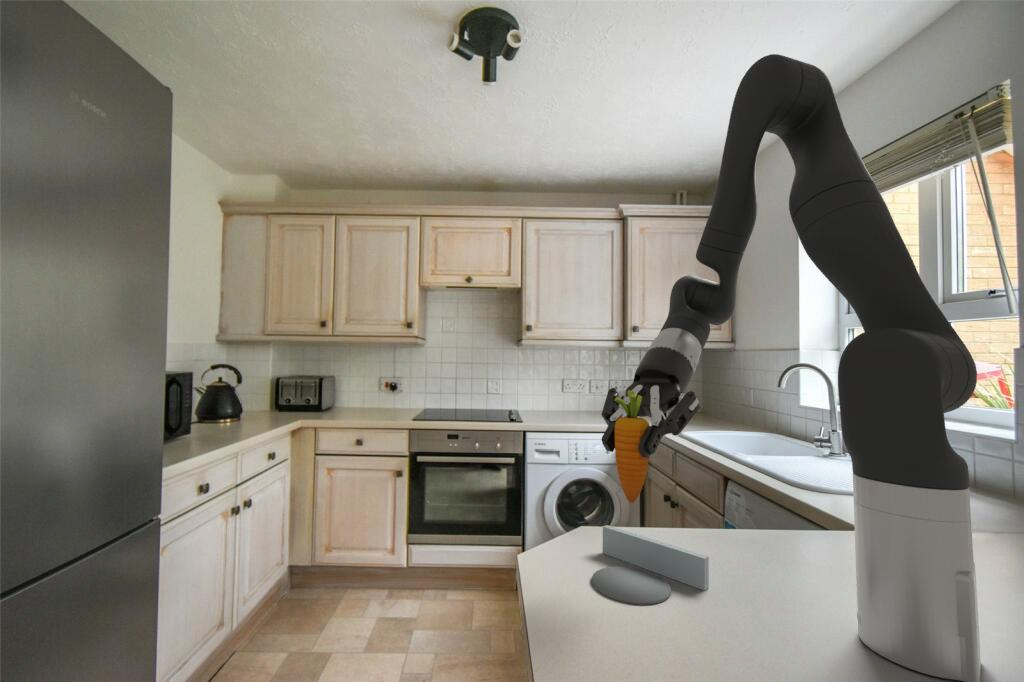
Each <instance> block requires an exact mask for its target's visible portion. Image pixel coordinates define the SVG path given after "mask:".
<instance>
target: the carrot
mask: <svg viewBox="0 0 1024 682" xmlns="http://www.w3.org/2000/svg"><path fill="white" fill-rule="evenodd" d="M627 393H628V397H629V400H630V404H628V403H627V404H626V403H625V402H624V401H623V400H622V399H620V398H618V397H617V398H615V401H616V402H617V403H619V404H620V405H621V406H622V407H623V408H624V410H625V412H626V414H627V417H624V416H623V417H621V418H619V419H618V420H617V421H616V423H615V449H614V452H615V454H614V455H615V462H616V469H617V474H618V479H619V483H620V485H621V488H622V491H623V493H624V495H625V497H626V500H627V501H628V502H629V504H634V502H636V501H637V500H638V498H639V496H640V494H641V492H642V489H643V486H644V484H645V481H646V478H647V477H646V476H647V472H648V467H649V459H650V457H649V458H645V457H642V455H641V454H640V452H639V450H638V445H639V443H640V441H641V439H642V437H643V435H644V433H645V431H646V429H647V427H648V426H650V423H649V422H648V421H647V420H646V419H645V418H643V417H640V418H639V417H637V413H638V411H639V408H640V405H641V402H642V397H641V396H640V395H638V397H637V401H636V396H635V395H634V392H633V391H632V390H629V391H627Z"/></svg>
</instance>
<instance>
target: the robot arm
mask: <svg viewBox="0 0 1024 682" xmlns="http://www.w3.org/2000/svg"><path fill="white" fill-rule="evenodd" d="M766 133H769V134H774V135H776V136H778V138H780V140H781V141H782V142H783V144H785V147H786V149H787V150H788V152H789V155H790V157H791V159H792V162H793V165H794V169H795V170H794V171H795V172H794V177H793V181H792V183H791V187H790V191H789V197H788V198H789V199H788V210H789V215H790V218H791V221H792V223H793V226H794V228H795V230H796V234H797V236H798V238H799V240H800V244H801V245H802V247H803V249H804V251H805V253H806V255H807V256H808V258H809V259H810V260H811V262H812V263H813V264H814V265H815V267H816V268H817V269H818V270H819V271H820V272H821V273H822V275H823V276H824V277H825V278H826V279H827V280H828V281H829V282H830V284H832V285H833V286H834V288H835V289H836V290H837V291H838V292H839V293H840V294H841V295H842V297H844V299H845V300H847V302H848V304H849V305H850V306H851V308H852V309H853V311H854V313H855V314H856V316H857V318H858V320H859V323H860V324H861V325H860V326H861V327H862V329H863V331H864V332H862V333H860V334H858V335H857V336H855V337H854V338H853V339H851V341H850V342H848V343H847V344H846V346H845V348H844V350H843V351H842V353H841V356H840V359H839V364H838V368H837V369H838V370H837V391H838V402H839V403H838V404H839V414H840V426H841V434H842V440H843V444H844V447H845V448H846V451H847V453H848V454H849V456H850V459H851V466H852V468H851V469H852V487H853V488H852V491H853V492H852V493H853V494H852V495H853V518H854V519H853V521H854V550H855V551H854V552H855V555H854V556H855V580H856V584H855V586H856V602H857V603H856V604H857V605H856V608H857V609H856V619H857V631H858V632H857V634H858V637H859V639H860V640H861V642H863V644H865V646H867V647H868V648H869V649H870V650H872V652H875V653H877V654H878V655H879V656H881V657H883V658H885V659H887V660H889V661H891V662H893V663H896V664H898V665H899V666H901V667H904V668H907V669H910V670H912V671H916V672H919V673H922V674H925V675H929V676H932V677H937V678H941V679H945V680H946V679H947V680H954V681H955V680H956V681H961V682H981V665H982V663H981V662H982V660H981V659H982V658H981V657H982V656H981V641H980V625H979V610H978V609H979V608H978V607H979V606H978V590H977V589H978V588H977V572H976V571H977V570H976V563H975V559H974V545H973V544H974V543H973V529H972V528H973V527H972V525H973V524H972V513H971V497H970V496H971V494H970V492H971V491H970V477H969V476H970V472H969V465H968V462H967V461H966V460H965V459H964V458H963V456H961V454H958V453H957V452H956V451H955V449H953V447H952V446H951V443H950V441H949V439H948V436H947V429H946V423H945V414H946V413H949V412H953V411H955V410H957V409H959V408H961V407H962V406H964V405H965V404H966V403H967V402H968V401H969V400H970V399H971V398H972V396H973V394H974V392H975V389H976V386H977V382H978V370H977V366H976V362H975V360H974V358H973V355H972V354H971V352H970V351H969V349H968V347H967V346H966V344H965V343H964V341H963V340H962V339H961V337H960V336H959V334H958V333H957V331H956V330H955V329H954V327H953V326H952V325H951V323H950V321H948V319H947V318H946V316H945V314H944V313H943V312H942V310H941V308H940V307H939V305H938V304H937V303H936V301H935V300H934V298H933V297H932V295H931V293H930V292H929V291H928V289H927V287H926V286H925V284H924V282H923V280H922V277H921V276H920V274H919V271H918V270H917V267H916V265H915V263H914V260H913V258H912V256H911V254H910V252H909V250H908V248H907V246H906V244H905V241H904V240H903V237H902V235H901V233H900V231H899V230H898V227H897V226H896V223H895V221H894V220H893V216H892V214H891V212H890V210H889V208H888V205H887V203H886V202H885V199H884V198H883V196H882V194H881V191H880V190H879V188H878V186H877V184H876V182H875V180H874V179H873V177H872V175H871V174H870V172H869V171H868V169H867V167H866V165H865V163H864V161H863V159H862V157H861V155H860V153H859V151H858V149H857V147H856V145H855V144H854V142H853V141H852V139H851V137H850V135H849V133H848V131H847V128H846V125H845V124H844V120H843V118H842V114H841V111H840V106H839V104H838V100H837V98H836V95H835V91H834V88H833V86H832V83H831V81H830V79H829V76H827V74H826V72H824V71H823V70H822V69H820V67H817V66H816V65H814V64H810V63H808V62H804V61H801V60H798V59H795V58H792V57H788V56H785V55H781V54H775V53H773V54H768V55H764V56H763V57H760V58H759V59H757V60H756V61H755V62H754V63H753V64H752V65H751V66H750V67H749V68H748V69H747V71H746V72H745V73H744V75H743V77H742V78H741V80H740V82H739V85H738V87H737V89H736V93H735V95H734V99H733V102H732V107H731V111H730V116H729V121H728V126H727V132H726V137H725V141H724V147H723V152H722V157H721V164H720V169H719V176H718V181H717V186H716V189H715V194H714V196H713V197H714V198H713V201H712V206H711V209H710V212H709V215H708V218H707V221H706V224H705V226H704V229H703V232H702V235H701V237H700V240H699V244H698V246H697V249H696V253H695V258H696V260H697V261H698V263H700V264H702V265H704V266H706V267H708V268H710V269H711V270H713V271H714V272H716V273H717V275H718V277H719V282H716V281H713V280H709V279H706V278H703V277H699V276H697V275H691V274H690V275H689V274H687V275H685V276H682V277H680V278H679V279H677V280H676V281H675V283H674V284H673V285H672V288H671V292H670V297H669V308H668V309H669V310H668V315H667V317H666V320H665V321H664V324H663V326H661V329H660V331H659V332H658V335H657V336H656V337H654V339H653V340H652V341H651V343H650V346H649V347H648V349H646V352H645V354H644V355H643V357H642V359H641V361H640V362H639V364H638V366H637V368H636V370H635V372H634V378H633V382H632V383H631V384H630V385H629V386H627V387H626V389H625V390H620V391H617V389H616V387H611V388H610V389H608V391H607V394H606V399H605V402H604V405H603V407H602V411H601V417H602V419H603V420H604V422H605V423H606V426H607V428H606V429H605V431H604V432H603V435H602V436H601V442H602V445H603V448H604V449H605V450H606V452H611V453H612V452H615V423H616V421H617V420H618V419H619V418H621V417H627V414H626V412H625V410H624V408H623V407H622V406H621V405H620V404H619V403H617V402H616V401H615V398H617V397H618V398H620V399H622V400H623V401H624V402H625V403H626V404H627V403H628V404H630V400H629V397H628V393H627V391H629V390H632V391H633V392H634V395H635V396H636V401H637V397H638V395H640V396H641V397H642V402H641V405H640V408H639V411H638V413H637V417H639V418H643V417H649V418H650V425H649V426H648V427H647V429H646V431H645V433H644V435H643V437H642V439H641V441H640V443H639V445H638V450H639V452H640V454H641V455H642V457H645V458H649V459H650V457H651V455H653V454H655V453H656V451H657V449H658V447H659V444H660V442H661V440H662V438H664V437H666V436H667V435H669V434H671V435H672V436H679V435H680V434H681V433H682V432H683V430H684V429H685V427H686V426H687V425H688V424H689V423H690V421H691V420H692V419H693V417H694V416H695V415H696V414H697V412H698V411H699V410H700V408H701V405H700V402H699V400H698V398H697V395H696V393H695V392H694V391H692V390H690V391H687V389H688V388H689V387H688V386H689V384H690V382H691V381H692V377H693V375H694V374H695V372H696V369H697V367H698V364H699V362H700V358H701V354H702V352H703V350H704V347H705V346H706V343H707V342H708V341H707V340H708V339H709V338H710V333H711V325H712V326H720V325H723V324H725V323H726V322H727V321H728V320H730V318H731V317H732V316H733V314H734V311H735V307H736V301H737V298H736V297H737V283H738V276H739V271H740V270H739V269H740V266H741V262H742V260H743V256H744V254H745V251H746V249H747V246H748V244H749V241H750V240H751V237H752V234H753V232H754V231H753V230H754V228H755V226H756V221H757V217H758V194H757V181H756V179H757V178H756V176H757V175H756V170H757V169H756V168H757V159H758V154H759V150H760V146H761V144H762V140H763V138H764V136H765V134H766ZM686 391H687V392H686ZM670 410H671V412H670V413H669V411H670Z"/></svg>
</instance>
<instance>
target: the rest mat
mask: <svg viewBox="0 0 1024 682" xmlns="http://www.w3.org/2000/svg"><path fill="white" fill-rule="evenodd" d="M591 584H592V586H593V588H594V589H595V590H596V591H597V592H598V593H600V594H601V595H603V596H605V597H607V598H609V599H612V600H614V601H617V602H622V603H626V604H631V605H632V604H633V605H639V606H640V605H643V606H648V605H656V604H661V603H663V602H666V601H667V600H668V599H669V598H670V597H671V594H672V588H671V585H670V583H669V582H668V581H666V580H665V579H664V578H663V577H661V576H659V574H657V573H654V572H652V571H649V570H644V569H641V568H635V567H630V566H609V567H604V568H600V569H598V570H596V571H595V572H594V573H593V574H592V575H591Z"/></svg>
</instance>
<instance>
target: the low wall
mask: <svg viewBox="0 0 1024 682" xmlns="http://www.w3.org/2000/svg"><path fill="white" fill-rule="evenodd" d="M602 554H604V555H606V556H609V557H612V558H615V559H617V560H620V561H623V562H625V563H628V564H631V565H634V566H637V567H639V568H642V569H643V570H644V569H646V571H649V572H652V573H654V574H657V575H661V576H663V577H667V578H668V579H672V580H674V581H678V582H680V583H683V584H685V585H688V586H692V587H693V588H695V589H696V588H697V589H699V590H701V591H706V590H708V589H709V588H710V585H709V584H710V581H709V579H710V578H709V577H710V573H709V572H710V569H709V568H710V567H709V566H710V565H709V563H710V562H709V561H710V558H709V557H710V556H708V555H705V554H702V553H698V552H695V551H692V550H688V549H686V548H682V547H680V546H676V545H672V544H670V543H667V542H663V541H659V540H656V539H653V538H650V537H647V536H644V535H640V534H639V533H638V534H637V533H633V532H631V531H627V530H624V529H621V528H617V527H614V526H611V525H608V524H606V525H603V526H602Z"/></svg>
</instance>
